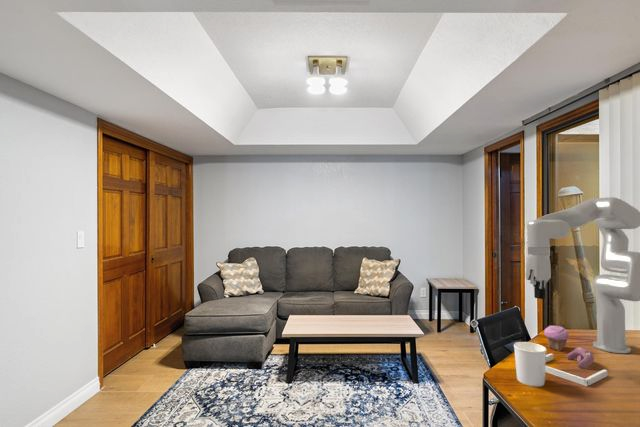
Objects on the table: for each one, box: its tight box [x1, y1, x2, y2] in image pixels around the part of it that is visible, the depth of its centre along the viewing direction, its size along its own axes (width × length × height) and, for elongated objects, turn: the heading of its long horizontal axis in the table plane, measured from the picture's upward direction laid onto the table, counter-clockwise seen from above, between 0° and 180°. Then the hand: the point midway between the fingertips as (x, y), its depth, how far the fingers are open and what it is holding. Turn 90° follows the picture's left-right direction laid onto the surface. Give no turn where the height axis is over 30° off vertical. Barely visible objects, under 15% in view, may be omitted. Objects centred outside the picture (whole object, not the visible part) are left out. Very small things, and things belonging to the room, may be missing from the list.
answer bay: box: [545, 353, 608, 387], centre depth 131 cm, size 15×19×2 cm
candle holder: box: [513, 341, 547, 388], centre depth 124 cm, size 10×10×12 cm
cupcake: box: [543, 325, 570, 352], centre depth 153 cm, size 9×9×10 cm
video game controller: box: [566, 346, 595, 369], centre depth 138 cm, size 10×5×7 cm, turn 169°
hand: (539, 298), depth 140 cm, fingers closed
